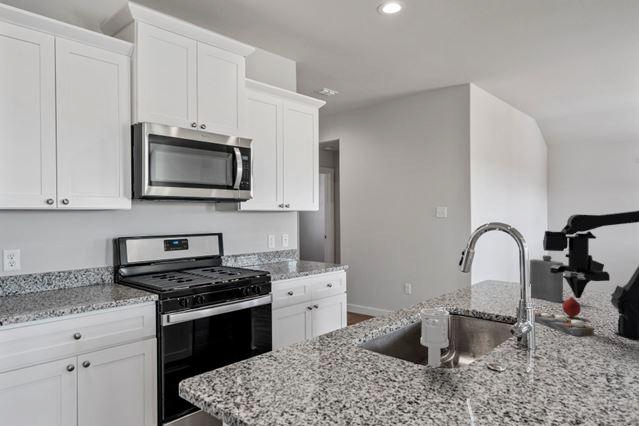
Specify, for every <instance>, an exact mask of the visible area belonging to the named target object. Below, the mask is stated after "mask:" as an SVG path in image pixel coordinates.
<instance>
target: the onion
mask: <svg viewBox="0 0 639 426" xmlns="http://www.w3.org/2000/svg"><path fill="white" fill-rule="evenodd" d="M568 297H569V298H568V299H566V300H565V301H564V302H562V303H563V304H562V310H563V313H564V314H566V316H567V317H569V318H574V317H576V316H578V315H579V314H580V312H581V305H580V304H579V303H580V302H578V301H577V300H576V299H575V298H573V296H568Z"/></svg>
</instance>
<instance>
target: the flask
mask: <svg viewBox="0 0 639 426" xmlns="http://www.w3.org/2000/svg"><path fill="white" fill-rule="evenodd" d="M552 265H564V263H563V262H560V261H555V260H554V261H553V260H552V256H551V255H545V254H544V255H543V256H542V259H533V258H532V259H530V260H529V285H530V284H531V297H530V298H532V299H540V300H542V301H543V300H544V301H549V302H552V303H558V304H559V303H564V302H563V299H564V298H563V295H564V278H563V276H564V272H560V273H558V274H555V273H551V266H552Z"/></svg>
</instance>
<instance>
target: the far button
mask: <svg viewBox="0 0 639 426" xmlns="http://www.w3.org/2000/svg"><path fill="white" fill-rule="evenodd" d="M540 313H541V316H544V317H552V315H553V314H551V313H549V312H546V313H545V312H540Z"/></svg>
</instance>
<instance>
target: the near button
mask: <svg viewBox="0 0 639 426" xmlns="http://www.w3.org/2000/svg"><path fill="white" fill-rule="evenodd" d="M571 324H572V325H573V327H576V328H582V327H584V325H585V322H584V321H583V320H579V319H571Z"/></svg>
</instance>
